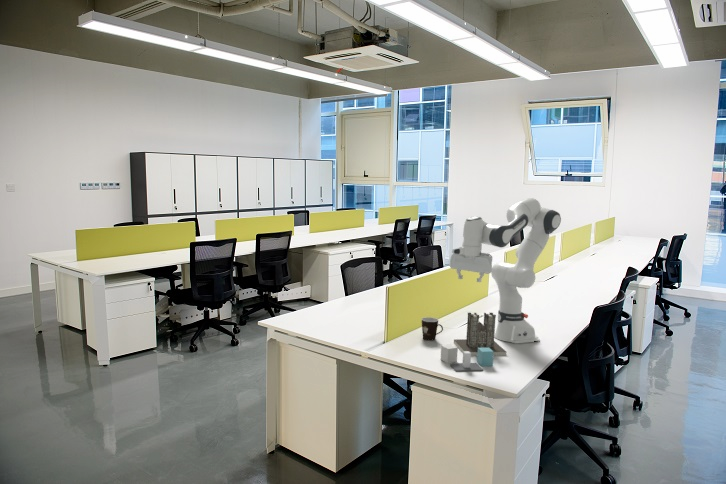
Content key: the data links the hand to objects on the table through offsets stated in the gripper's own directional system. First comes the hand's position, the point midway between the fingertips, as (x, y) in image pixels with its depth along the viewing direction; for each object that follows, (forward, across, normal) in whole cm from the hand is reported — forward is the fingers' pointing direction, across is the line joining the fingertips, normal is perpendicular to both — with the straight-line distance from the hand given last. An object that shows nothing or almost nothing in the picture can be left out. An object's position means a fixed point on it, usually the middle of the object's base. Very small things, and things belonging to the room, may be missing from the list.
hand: (469, 280), depth 233 cm
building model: (+34, -5, -6) cm, 35 cm away
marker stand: (+34, -11, +20) cm, 41 cm away
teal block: (+34, -15, +10) cm, 39 cm away
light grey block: (+34, -1, +18) cm, 39 cm away
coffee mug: (+34, +21, -4) cm, 40 cm away
